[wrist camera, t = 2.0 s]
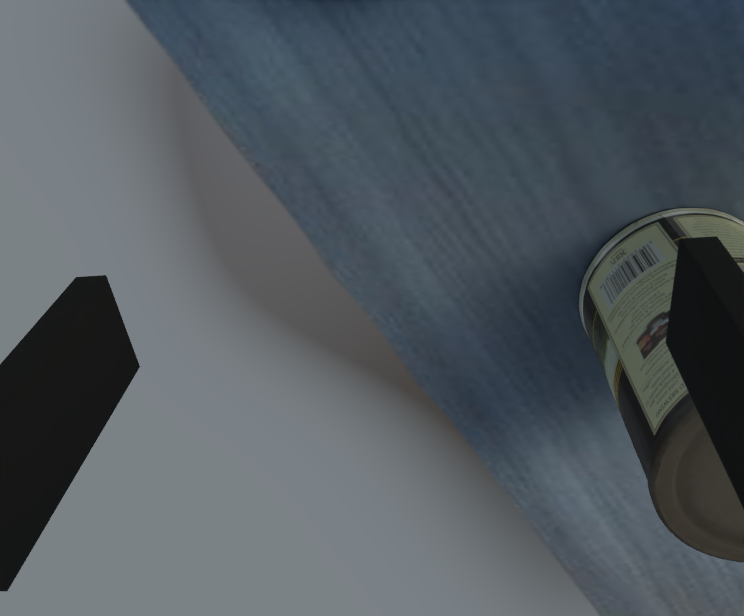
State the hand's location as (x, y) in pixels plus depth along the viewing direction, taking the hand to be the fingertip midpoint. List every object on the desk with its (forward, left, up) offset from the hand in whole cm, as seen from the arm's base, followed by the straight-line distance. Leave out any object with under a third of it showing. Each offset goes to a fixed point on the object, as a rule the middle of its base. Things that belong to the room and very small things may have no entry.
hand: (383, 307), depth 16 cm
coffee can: (+1, +18, -21) cm, 28 cm away
